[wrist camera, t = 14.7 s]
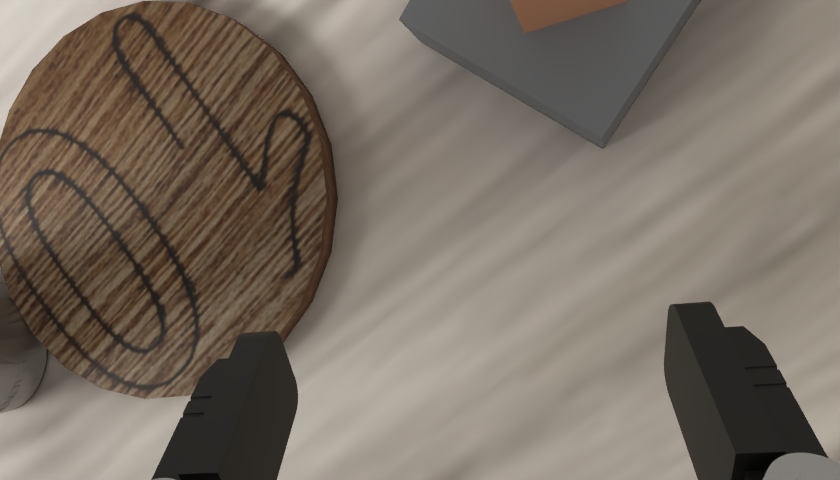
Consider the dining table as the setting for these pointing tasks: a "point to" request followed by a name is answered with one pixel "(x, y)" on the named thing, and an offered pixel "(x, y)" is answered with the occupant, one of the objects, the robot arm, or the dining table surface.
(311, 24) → the dining table surface
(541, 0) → the terracotta block
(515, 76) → the charcoal plinth
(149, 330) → the trivet
